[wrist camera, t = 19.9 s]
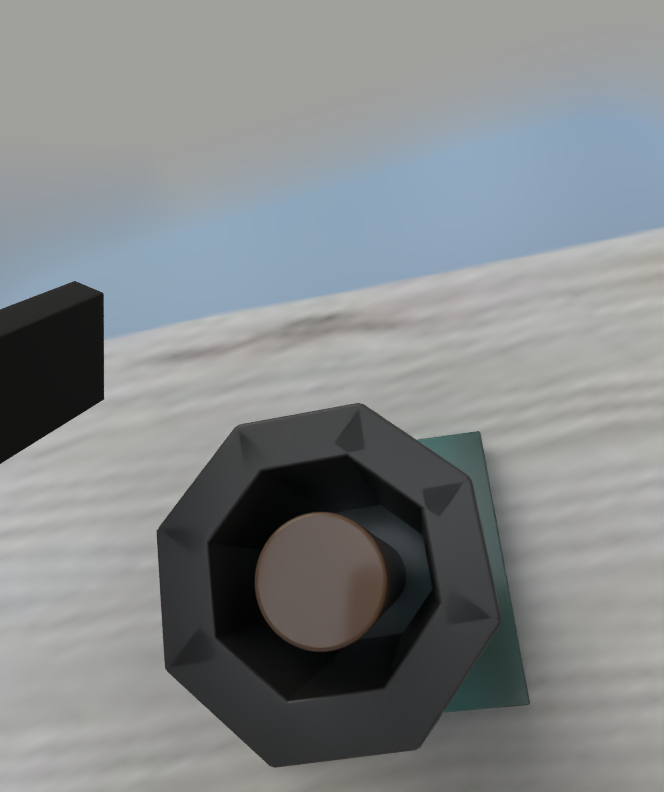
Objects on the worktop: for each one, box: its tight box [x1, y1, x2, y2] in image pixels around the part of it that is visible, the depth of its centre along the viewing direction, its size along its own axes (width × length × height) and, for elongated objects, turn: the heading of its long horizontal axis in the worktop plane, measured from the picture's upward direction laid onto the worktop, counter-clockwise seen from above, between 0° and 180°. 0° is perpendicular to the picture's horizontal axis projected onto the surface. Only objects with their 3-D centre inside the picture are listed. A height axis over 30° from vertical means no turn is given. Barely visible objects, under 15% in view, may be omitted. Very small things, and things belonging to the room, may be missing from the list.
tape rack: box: [255, 431, 530, 712], centre depth 18 cm, size 10×10×14 cm
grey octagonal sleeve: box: [157, 403, 501, 768], centre depth 18 cm, size 7×7×11 cm
